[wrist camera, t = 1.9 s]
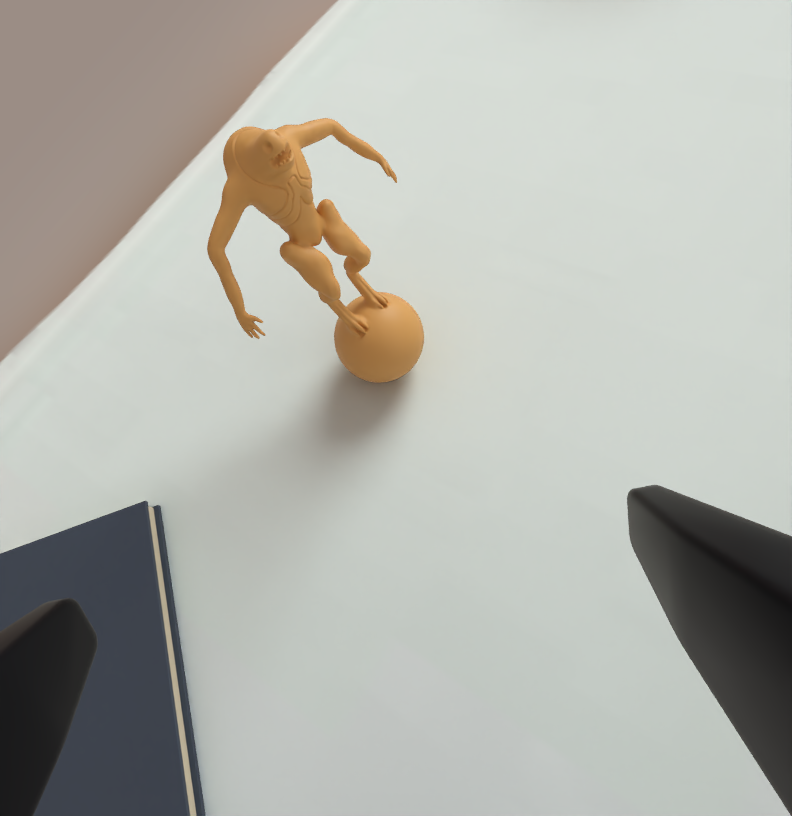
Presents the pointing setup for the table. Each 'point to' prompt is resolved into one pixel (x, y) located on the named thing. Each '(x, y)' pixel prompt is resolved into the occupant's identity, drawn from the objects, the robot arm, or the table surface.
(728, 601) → the robot arm
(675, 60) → the table surface
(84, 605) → the notebook
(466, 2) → the table surface
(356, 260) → the figurine
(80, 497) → the table surface
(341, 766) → the table surface
